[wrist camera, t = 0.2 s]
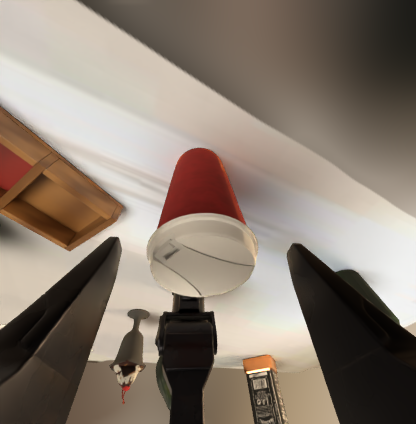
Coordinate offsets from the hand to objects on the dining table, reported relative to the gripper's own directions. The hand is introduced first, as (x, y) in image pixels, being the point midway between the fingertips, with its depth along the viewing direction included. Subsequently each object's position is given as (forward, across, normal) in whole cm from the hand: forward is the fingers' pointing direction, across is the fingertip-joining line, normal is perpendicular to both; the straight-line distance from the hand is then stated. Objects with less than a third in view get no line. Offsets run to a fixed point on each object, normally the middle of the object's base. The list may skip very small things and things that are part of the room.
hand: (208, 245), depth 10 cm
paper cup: (+15, 0, +3) cm, 15 cm away
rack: (+15, +19, +6) cm, 25 cm away
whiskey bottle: (+15, -29, +80) cm, 87 cm away
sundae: (+15, +11, +41) cm, 45 cm away
